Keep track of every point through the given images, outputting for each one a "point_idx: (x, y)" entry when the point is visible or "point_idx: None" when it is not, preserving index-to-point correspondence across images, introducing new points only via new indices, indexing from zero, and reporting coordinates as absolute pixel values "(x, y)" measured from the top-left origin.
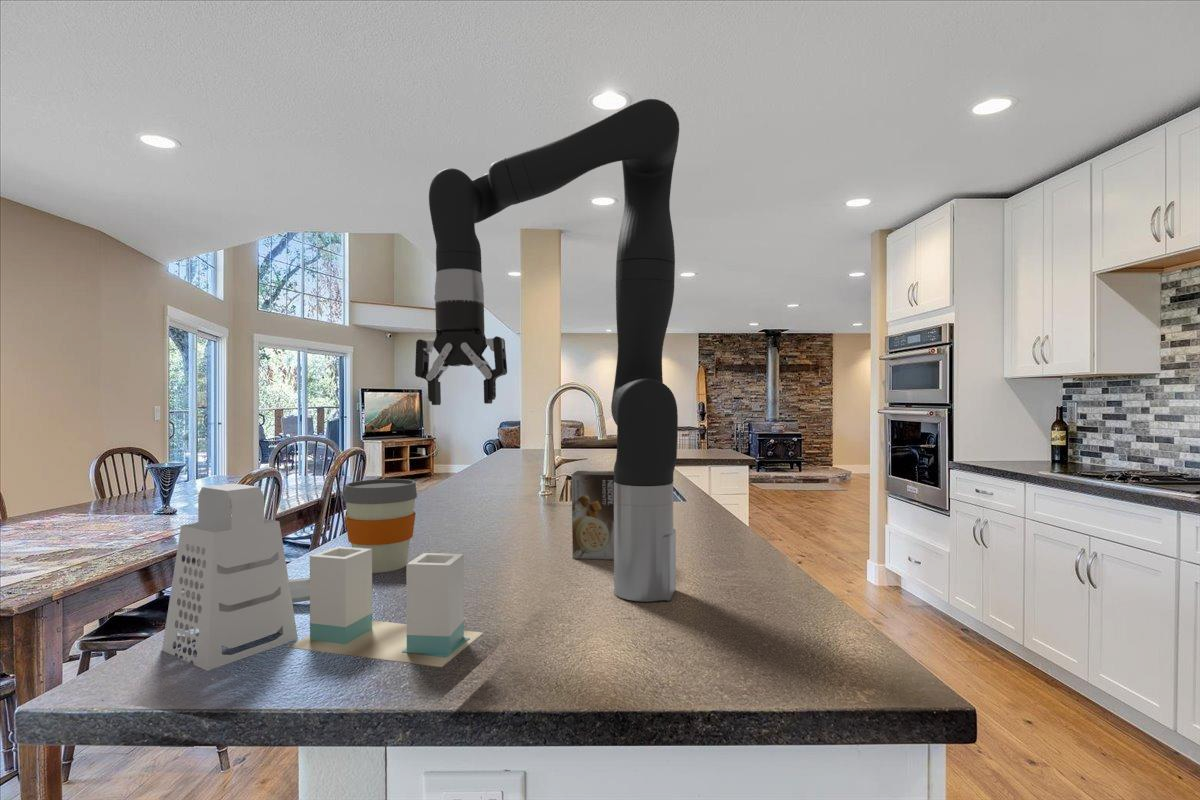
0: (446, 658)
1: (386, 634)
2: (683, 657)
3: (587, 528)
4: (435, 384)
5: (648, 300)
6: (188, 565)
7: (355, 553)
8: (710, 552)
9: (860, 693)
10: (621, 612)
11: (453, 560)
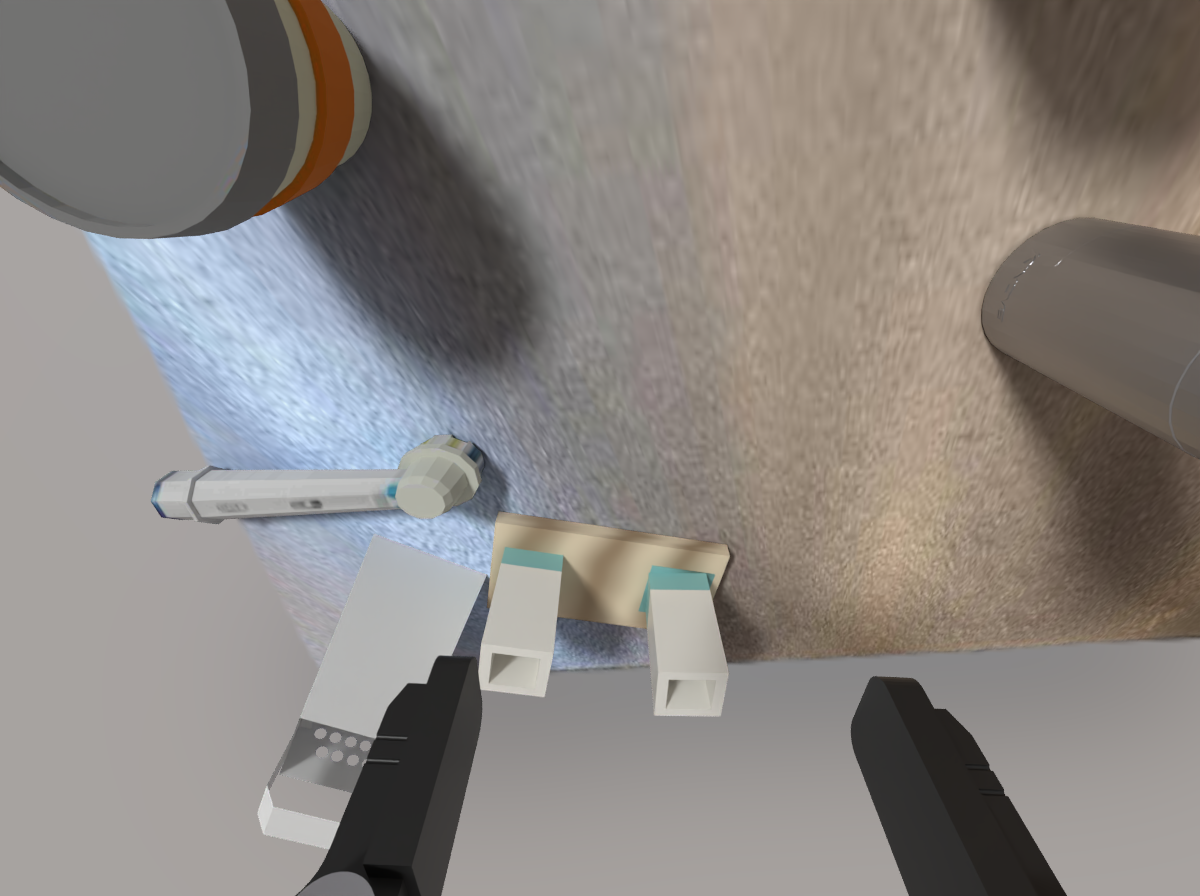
0: None
1: (593, 569)
2: (999, 558)
3: None
4: (438, 892)
5: None
6: (340, 730)
7: (541, 675)
8: None
9: (1157, 617)
10: (963, 410)
11: (720, 699)
